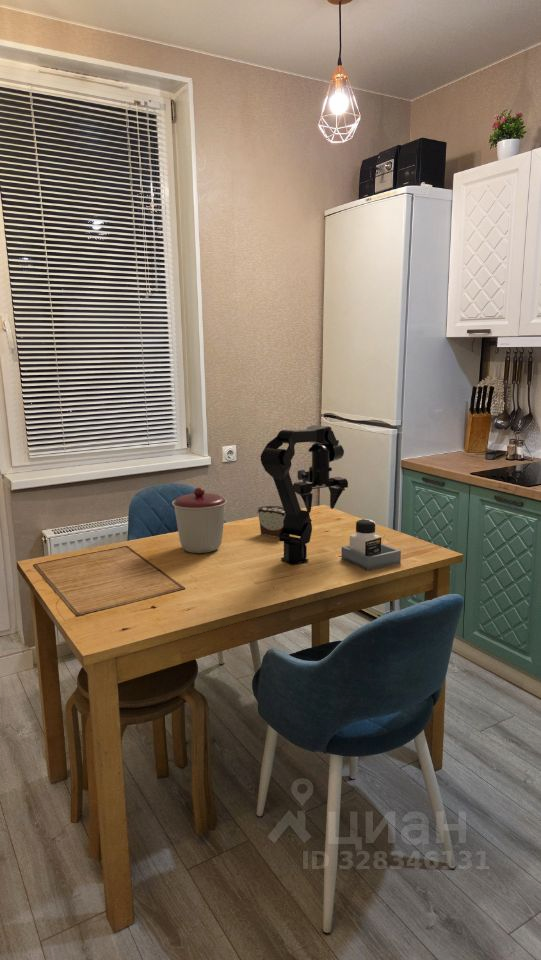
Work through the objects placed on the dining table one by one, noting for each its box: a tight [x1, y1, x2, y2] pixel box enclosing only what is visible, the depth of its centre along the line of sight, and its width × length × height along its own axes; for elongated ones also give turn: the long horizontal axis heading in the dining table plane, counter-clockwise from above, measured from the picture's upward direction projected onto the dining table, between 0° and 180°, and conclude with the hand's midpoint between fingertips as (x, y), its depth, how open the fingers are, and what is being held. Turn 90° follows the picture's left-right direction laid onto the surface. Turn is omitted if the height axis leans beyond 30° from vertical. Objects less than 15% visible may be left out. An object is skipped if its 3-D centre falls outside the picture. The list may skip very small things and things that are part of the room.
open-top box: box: [341, 542, 402, 571], centre depth 194 cm, size 13×13×4 cm
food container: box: [256, 505, 285, 538], centre depth 223 cm, size 12×6×10 cm, turn 58°
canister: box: [171, 487, 228, 554], centre depth 206 cm, size 18×18×21 cm
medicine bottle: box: [349, 518, 382, 557], centre depth 193 cm, size 7×7×12 cm
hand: (320, 510), depth 204 cm, fingers open, 9 cm apart
